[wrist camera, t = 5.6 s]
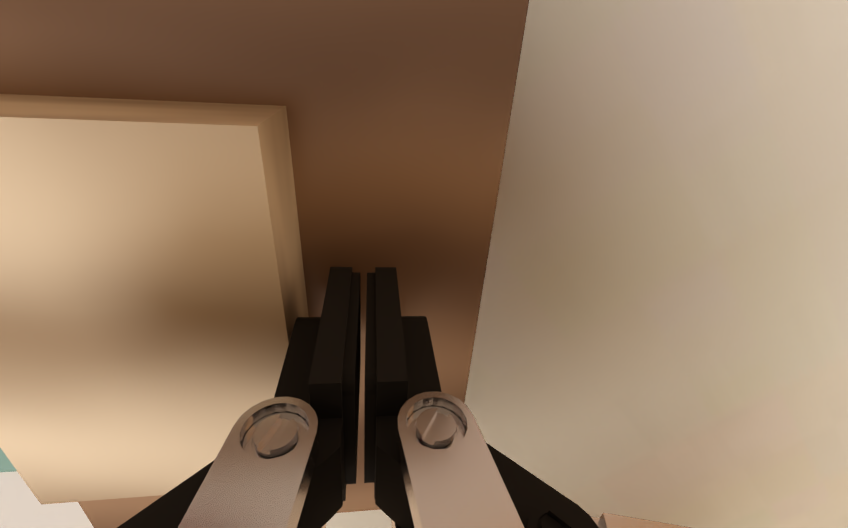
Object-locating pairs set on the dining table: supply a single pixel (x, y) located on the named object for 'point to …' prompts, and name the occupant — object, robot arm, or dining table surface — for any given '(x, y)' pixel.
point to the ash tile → (139, 286)
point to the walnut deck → (322, 132)
